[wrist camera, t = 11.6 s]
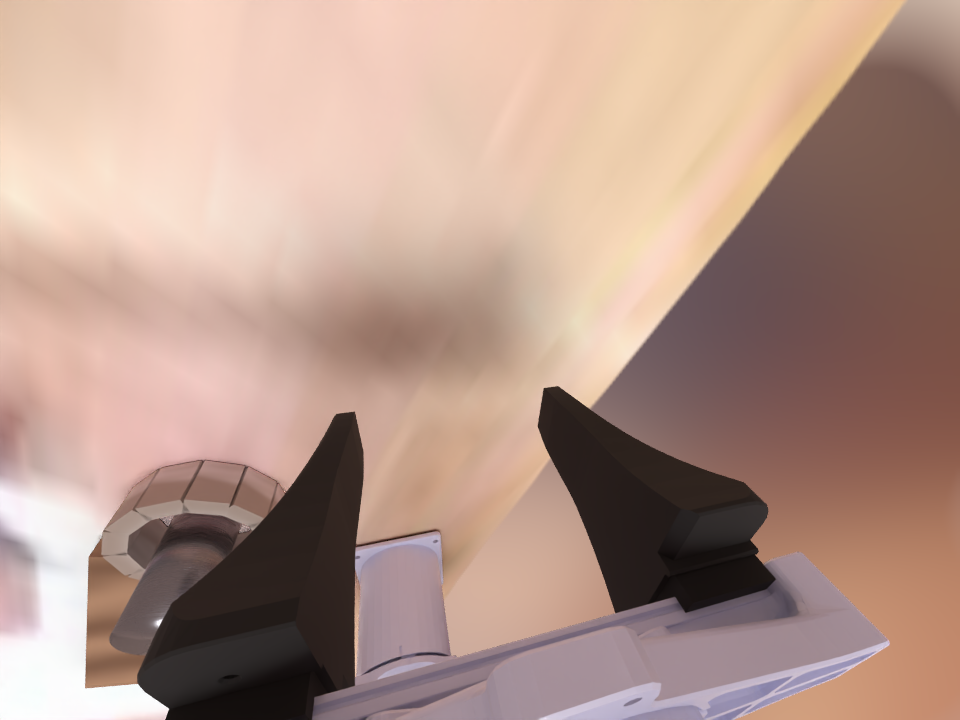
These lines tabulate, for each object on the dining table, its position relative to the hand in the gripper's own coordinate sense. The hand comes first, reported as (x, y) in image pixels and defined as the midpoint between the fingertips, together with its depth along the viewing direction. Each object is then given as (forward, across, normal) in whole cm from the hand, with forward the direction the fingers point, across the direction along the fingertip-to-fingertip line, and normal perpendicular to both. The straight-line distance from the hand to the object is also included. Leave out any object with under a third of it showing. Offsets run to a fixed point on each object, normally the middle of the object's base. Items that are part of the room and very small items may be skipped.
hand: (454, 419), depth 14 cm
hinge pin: (+9, +16, +14) cm, 23 cm away
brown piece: (+9, +20, +23) cm, 32 cm away
